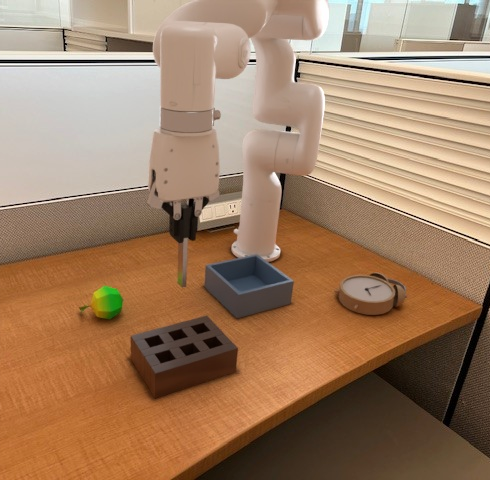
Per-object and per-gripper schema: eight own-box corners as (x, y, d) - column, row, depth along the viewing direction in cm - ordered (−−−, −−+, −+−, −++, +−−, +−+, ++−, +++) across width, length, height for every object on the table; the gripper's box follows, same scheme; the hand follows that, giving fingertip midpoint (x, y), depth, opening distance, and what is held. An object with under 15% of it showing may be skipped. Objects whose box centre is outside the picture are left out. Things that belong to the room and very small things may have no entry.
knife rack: (130, 359, 84) (130, 335, 81) (205, 337, 90) (207, 315, 88) (154, 398, 75) (155, 373, 73) (235, 371, 82) (238, 348, 80)
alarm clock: (328, 281, 106) (385, 262, 109) (328, 299, 108) (383, 280, 111) (360, 308, 96) (421, 286, 100) (359, 327, 98) (419, 305, 102)
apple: (122, 278, 94) (77, 287, 90) (131, 309, 92) (84, 319, 88) (115, 291, 100) (72, 299, 96) (123, 319, 98) (79, 329, 94)
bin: (204, 287, 107) (205, 264, 105) (254, 275, 113) (256, 253, 111) (236, 318, 96) (238, 294, 94) (290, 303, 102) (294, 280, 100)
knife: (175, 282, 79) (176, 203, 73) (182, 280, 80) (185, 202, 74) (180, 288, 78) (183, 208, 72) (188, 287, 78) (191, 207, 72)
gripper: (220, 112, 74) (214, 222, 82) (124, 118, 67) (127, 237, 75) (247, 122, 68) (237, 239, 76) (145, 130, 61) (146, 258, 69)
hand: (183, 237), depth 75 cm, fingers closed on knife, 1 cm apart
